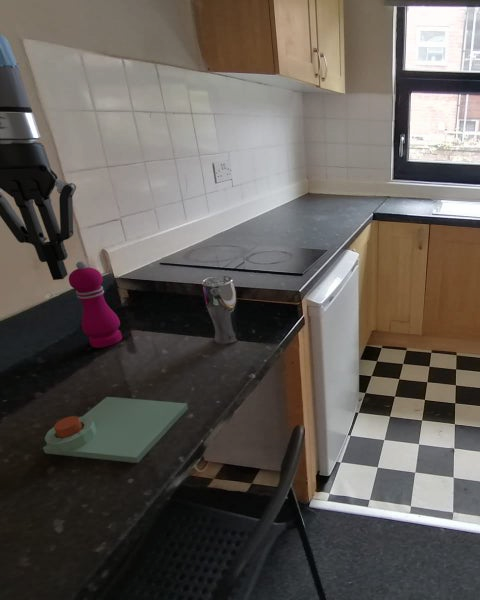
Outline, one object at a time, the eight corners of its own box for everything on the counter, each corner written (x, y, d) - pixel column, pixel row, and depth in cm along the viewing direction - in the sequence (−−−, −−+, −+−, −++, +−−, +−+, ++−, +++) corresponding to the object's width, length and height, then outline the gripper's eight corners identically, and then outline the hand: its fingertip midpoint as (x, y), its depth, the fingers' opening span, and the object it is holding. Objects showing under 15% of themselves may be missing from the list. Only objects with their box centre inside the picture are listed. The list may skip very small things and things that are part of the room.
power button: (52, 437, 63) (48, 428, 62) (69, 423, 66) (66, 415, 65) (70, 439, 63) (66, 430, 62) (87, 425, 66) (84, 416, 65)
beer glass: (249, 335, 98) (240, 278, 92) (225, 348, 93) (213, 288, 87) (230, 329, 102) (220, 273, 96) (206, 340, 96) (193, 282, 90)
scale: (41, 456, 63) (34, 441, 62) (108, 401, 75) (104, 388, 74) (135, 466, 61) (130, 451, 60) (188, 408, 74) (185, 395, 72)
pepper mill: (108, 350, 92) (79, 268, 84) (80, 347, 93) (50, 266, 85) (131, 335, 99) (107, 257, 91) (106, 332, 100) (80, 255, 92)
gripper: (-54, 143, 60) (7, 288, 70) (53, 142, 64) (96, 279, 74) (-27, 140, 66) (25, 274, 76) (68, 140, 71) (106, 266, 80)
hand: (60, 277), depth 75 cm, fingers closed
